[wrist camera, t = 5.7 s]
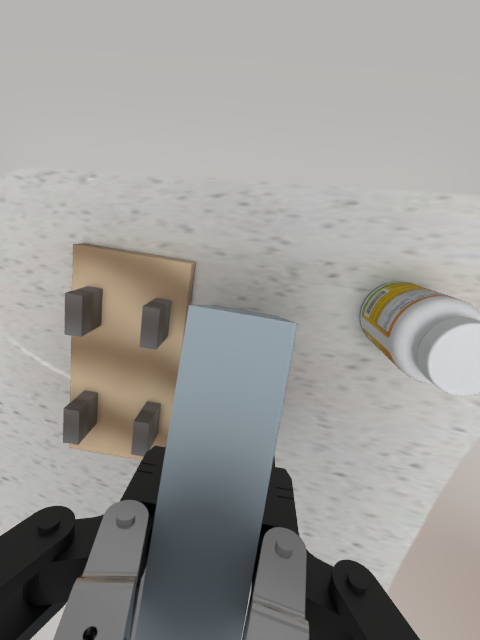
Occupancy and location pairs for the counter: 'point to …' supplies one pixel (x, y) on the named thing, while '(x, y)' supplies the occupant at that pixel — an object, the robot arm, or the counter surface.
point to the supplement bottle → (426, 335)
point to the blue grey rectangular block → (215, 474)
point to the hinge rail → (124, 348)
